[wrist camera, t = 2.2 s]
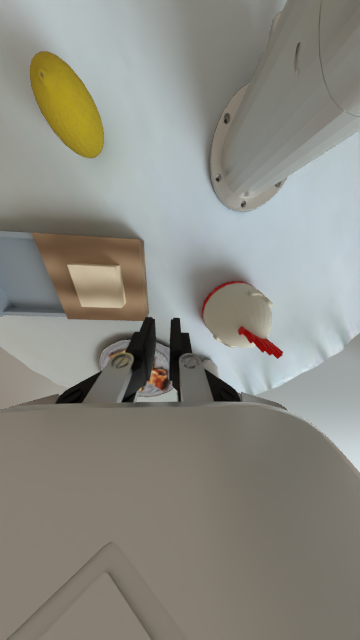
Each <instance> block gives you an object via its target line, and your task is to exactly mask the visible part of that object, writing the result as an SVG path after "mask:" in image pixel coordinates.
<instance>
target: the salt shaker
mask: <svg viewBox="0 0 360 640" xmlns="http://www.w3.org/2000/svg"><path fill="white" fill-rule="evenodd" d="M202 364H203V367H204V368H205V369H206V370H208V371H209V372H211V373H212V374H213V375H215V376H216V377H218V378H219V375H218V368H217V366H216V364H215V363H214V362H213V361H211V360H208V359H206V360H203V361H202Z"/></svg>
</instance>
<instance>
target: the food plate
mask: <svg viewBox="0 0 360 640" xmlns="http://www.w3.org/2000/svg"><path fill="white" fill-rule="evenodd" d="M130 341H131V340H120V341H118V342H116V343H113V344H111V345H110V346H108V347H107V348H106V349H105V350H104V351H103V352H102V353H101V355H100V359H99V363H100V365H99V367H101V368H100V370H101V371H102V370H103V369H104V368H105V366H106V365H107V363H108V362H109V360H110V359H111V358H112V357H113V356H115V355H117V354H119V353H125V351H126V349H127V347H128V345H129V343H130ZM155 351H157V353H158V352H160V356H161V354H162V355H163V356H162V358H161V357H159V356H158V357H155V359H154V360H153V366H152V371H151V377H150V381H147V384H146V386H143V387H142V388H140V389H139V394H138V396H140V397H141V396H143V397H152V396H158V395H161V394H164V393H167V392H169V391H171V390H172V389H173V386H172V381H169V370H168V369H169V361H170V348H169V347H166V346H164V345H161V344H160V343H157V342H156V350H155ZM158 358H159V359H158ZM160 358H161V359H160ZM162 359H163V361H165V362H163V361H162ZM162 362H163V363H162Z"/></svg>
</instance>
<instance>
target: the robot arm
mask: <svg viewBox="0 0 360 640" xmlns="http://www.w3.org/2000/svg"><path fill="white" fill-rule="evenodd" d="M224 122H226V124H225V123H224ZM358 131H360V0H287V2H286V4H285V6H284V8H283V10H282V12H280V13H278V14H277V15H276V16H275V18H274V19H273V21H272V25H271V30H270V35H269V40H268V43H267V46H266V48H265V50H264V52H263V54H262V57H261V59H260V61H259V63H258V65H257V68H256V70H255V72H254V74H253V76H252V79H251V81H249V82H248V83H247V84H246V85H244V86H243V87H242V88H240V89H239V90H238V92H237V93H236V94H235V95H234V96H233V97H232V98H231V100H230V101H229V103H228V105H227V106H226V108H225V109H224V111H223V113H222V116H221V118H220V120H219V122H218V125H217V128H216V131H215V134H214V137H213V141H212V146H211V153H210V175H211V181H212V185H213V188H214V191H215V193H216V195H217V196H218V198H219V200H220V201H221V202H222V203H223V204H224V205H225V206H226V207H228V208H229V209H231V210H234V211H238V212H246V211H251V210H253V209H256V208H258V207H260V206H262V205H263V204H265V203H266V202H268V201H269V200H270V199H271V198H272V197H273V196H274V195H275V194H276V193H277V192H278V191H279V189H280V188H281V187H282V185H283V184H284V182H285V181H286V179H287V177H288V176H289V175H291V174H292V173H294V172H295V171H297V170H299V169H300V168H302V167H303V166H305V165H306V164H308V163H310V162H311V161H313V160H314V159H316V158H317V157H319V156H321V155H322V154H324V153H325V152H327V151H328V150H330V149H331V148H333V147H335V146H336V145H338V144H339V143H341V142H342V141H344V140H346V139H347V138H349V137H350V136H352V135H353V134H355V133H356V132H358ZM216 179H218V182H217V181H216ZM275 185H276V186H275ZM241 204H242V207H241ZM155 350H156V332H155V319H153V318H152V317H145V320H144V322H143V324H142V327H141V329H140V332H134V334H133V336H132V338H131V341H130V343H129V345H128V347H127V349H126V351H125V353H119V354H117V355H115V356H113V357H112V358H111V359H110V360H109V362H108V363H107V365H106V366H105V368H104V369H103V370H102V371H101V372H99V373H97V374H95V375H93V376H91V377H90V378H88V379H86V380H84V381H82V382H80V383H79V384H77V385H75V386H73V387H71V388H69V389H68V390H66V391H65V392H64V393H63V394H62V395H59V394H55V395H52V396H48V397H44V398H41V399H37V400H33V401H30V402H26V403H22V404H19V405H15V406H12V407H9V408H5V409H0V640H360V472H359V471H358V470H357V469H356V468H355V467H354V466H353V464H352V463H351V462H350V461H349V460H348V459H347V458H346V456H345V455H344V454H343V453H342V452H341V451H340V450H339V449H338V448H337V447H336V445H335V444H334V443H333V442H332V441H331V440H330V439H329V438H328V437H327V436H326V435H325V434H324V433H323V432H322V431H321V430H319V429H318V428H317V427H316V426H314V425H313V424H312V423H310V422H309V421H307V420H306V419H304V418H302V417H300V416H298V415H296V414H294V413H292V412H289V411H288V410H287V409H286V408H285V407H283V406H282V405H280V404H278V403H276V402H273V401H269V400H266V399H263V398H260V397H256V396H253V395H250V394H247V393H243V392H241V394H240V393H237V392H236V390H235V389H233V388H232V387H231V386H230V385H228V384H227V383H225V382H224V381H222V380H221V379H219V378H218V377H216V376H215V375H213V374H212V373H211V372H209V371H208V370H206V369H205V368H204V367H203V364H202V361H201V359H200V358H199V357H198V356H197V355H195V354H192V349H191V343H190V338H189V333H181V327H180V318H173V320H172V319H171V331H170V361H169V381H172V386H173V387H174V388H175V389H176V390H177V402H136V401H137V398H138V394H139V389H140V388H142V387H143V386H146V384H147V381H150V377H151V371H152V366H153V360H154V355H155Z"/></svg>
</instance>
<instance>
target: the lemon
mask: <svg viewBox="0 0 360 640" xmlns="http://www.w3.org/2000/svg"><path fill="white" fill-rule="evenodd" d="M30 79H31V86H32V89H33V92H34V96H35V99H36V101H37V103H38V105H39V108H40V110H41V112H42V114H43V115H44V117H45V118H46V120H47V122H48V123H49V125H50V126H51V128H52V129H53V131H54V132H55V133H56V134H57V136H58V137H59V138H60V139H61V140H62V141H63V143H64V144H65V145H67V146H68V147H69V148H70V149H71V150H73V151H74V152H75V153H77V154H79V155H81V156H83V157H86V158H94V157H96V156H98V155H99V154H100V152H101V151H102V148H103V144H104V132H103V126H102V122H101V118H100V115H99V112H98V110H97V107H96V105H95V103H94V101H93V99H92V97H91V95H90V93H89V92H88V90H87V88H86V87H85V85H84V84H83V82H82V81H81V79H80V78H79V77H78V76H77V75H76V73H75V72H74V71H73V70H72V69H71V68H70V66H69V65H68V64H67V63H65V62H64V61H63V60H62V59H60V58H59V57H58V56H57V55H54V54H52V53H50V52H47V51H43V52H39V53H37V54H36V55H35V56H34V57H33V59H32V61H31V65H30Z"/></svg>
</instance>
